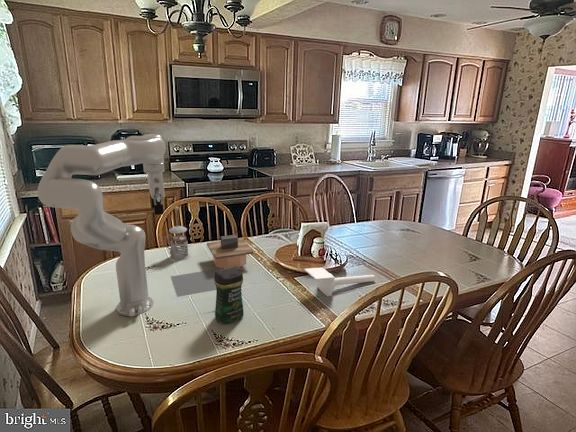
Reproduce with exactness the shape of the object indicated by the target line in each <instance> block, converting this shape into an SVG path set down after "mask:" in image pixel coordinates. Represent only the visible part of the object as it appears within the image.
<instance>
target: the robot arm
mask: <svg viewBox="0 0 576 432" xmlns="http://www.w3.org/2000/svg"><path fill="white" fill-rule="evenodd" d="M166 148H167V146H166V143H165V141H164V140H163V137H162V135H161V134H157V133H155V134H154V133H149V134H148V133H147V134H143V135H130V136H128V137H126V138H125V139H118V140H117V139H116V140H110V141H105V142H101V143H97V144H92V145H90V144H89V145H79V144H78V145H77V144H65V145H64V146H62V147H61V148H60V149H58V151H57V152H56V153H55V155H54V156H53V157H52V159H51V161H50V163H49V165H48V167H47V168H46V170H45V172H44V173H43V175H42V177H41V179H40V181H39V184H38V186H37V198H38V200H39V201H40V202H41V203H42V204H43V205H44V206H46V207H50V208H56V209H57V208H58V209H68V210H77V211H78V215H77V216H75V217H74V218H73V220H72V222H71V224H70V232H71V235H72V238H73V239H74V240H75V241H76V242H78V243H79V244H82V245H86V246H87V247H90V248H93V249H96V250H100V251H108V252H118V253H120V255H119V257H118V258H117V260H116V263H115V271H116V277H117V287H118V294H119V302H118V304H117V305H116V308H115V310H116V312H117V314H119V315H121V316H123V317H136V316H139V315H142V314H144V313H146V312H148V311H150V310H151V309H152V308H153V306H154V299H153V298H152V297H150V296H149V288H148V279H147V271H146V270H147V269H146V268H147V267H146V261H145V249H146V233H145V230H144V229H143V228H142V227H141V226H138V225H135V224H127V223H126V224H125V223H124V222H123V221H122V220H121V219H119V218H118V217H116V216H114V215H112V214H111V213H108V212H106V211H105V210H104V199H103V198H104V197H103V196H104V195H103V191H102V189H101V187H100V186H99V185H98V184H97V183H95V182H94V181H92V180H89V179H84V178H83V179H82V178H75V177H74V178H72V176H73V175H85V176H86V175H87V176H88V175H89V176H99V175H102V174H105V173H108V172H110V171H113V170H116V169H117V170H118V169H119V168H121V167H131V166H136V165H141V164H142V166H143V172H144V173H146V174H147V175H146V176H147V184H148V189H149V190H148V191H149V194H150V196H151V197H150V198H151V207H152V208H153V209H154V212H153V213H154V215H155V216H156V215H157V216H158V215H163V214H164V204H163V199H164V198H166V192H165V186H164V176H163V173H164V172H165V157H164V156H165V154H166ZM162 198H163V199H162Z"/></svg>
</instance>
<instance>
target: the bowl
mask: <svg viewBox="0 0 576 432" xmlns="http://www.w3.org/2000/svg"><path fill="white" fill-rule="evenodd" d="M212 258H213V259H212V260H213V264H214V266H215V267H216V268H218V269H219V268H220V269H226V268H230V267H235V266H237V267H238V268H242V266H243V265H247V255H241V256H234V257H228V258H221V259H215V258H214V256H213V255H212Z"/></svg>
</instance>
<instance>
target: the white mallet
mask: <svg viewBox="0 0 576 432" xmlns="http://www.w3.org/2000/svg"><path fill="white" fill-rule="evenodd" d="M303 270H304V271H305V272H306V273H307V274H308V275H309V276H310V277H311V278H312V279H314V280H316V281H317V289H319V290H320V291H321V292H322V293H323V294H324V295H325V296H326V297H330V296H332V294H333V291H334V289H335V286H338V285H339V286H341V285H350V284H351V285H352V284H360V283H371V282H375V281H376V276H375V275H374V274H366V275H365V274H364V275H353V276H344V277H343V276H342V277H335V276H334V275H333V274H332V273H330V272H328V270H326V269H325V268H324V267H310V268H309V267H307V268H304V269H303Z"/></svg>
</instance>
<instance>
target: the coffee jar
mask: <svg viewBox="0 0 576 432" xmlns="http://www.w3.org/2000/svg"><path fill="white" fill-rule="evenodd" d="M214 272H215V277H214V282H215V285H216V290H215V291H216V293H215V294H216V296H215V308H214V309H215V310H214V316H215V317H214V318H215V319H216V320H217V321H218V322H219V323H221V324H225V325H226V324H229V323H233V322H236V321H238V320H241V319H242V318H243V317H244V314H245V313H244V312H245V311H244V304H243V294H242V285H243V283H244V275H243V270H242V269H241V267H239V268H238V267H237V266H235V267H230V268H226V269H224V268H221V269H219V270H216V271H214Z"/></svg>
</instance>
